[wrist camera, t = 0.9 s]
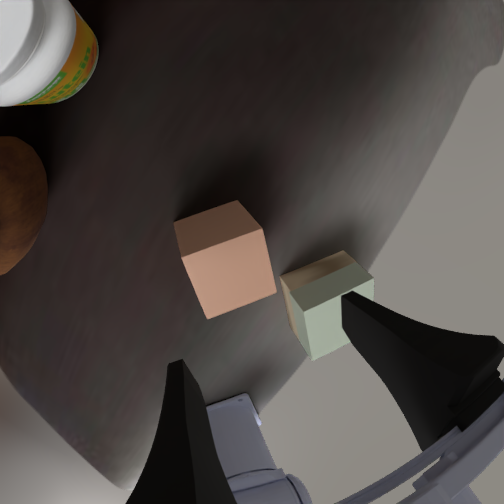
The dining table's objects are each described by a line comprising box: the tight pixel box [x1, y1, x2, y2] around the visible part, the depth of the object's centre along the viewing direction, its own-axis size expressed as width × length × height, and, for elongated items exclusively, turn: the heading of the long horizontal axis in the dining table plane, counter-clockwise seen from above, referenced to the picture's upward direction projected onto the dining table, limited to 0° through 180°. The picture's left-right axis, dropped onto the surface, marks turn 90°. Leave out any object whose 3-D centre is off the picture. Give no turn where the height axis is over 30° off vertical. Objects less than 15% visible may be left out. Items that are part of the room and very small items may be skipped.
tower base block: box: [280, 250, 357, 340], centre depth 26 cm, size 6×6×2 cm
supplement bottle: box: [0, 0, 99, 107], centre depth 8 cm, size 5×5×10 cm
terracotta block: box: [173, 200, 277, 319], centre depth 19 cm, size 4×4×5 cm
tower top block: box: [289, 262, 374, 361], centre depth 24 cm, size 6×6×2 cm
